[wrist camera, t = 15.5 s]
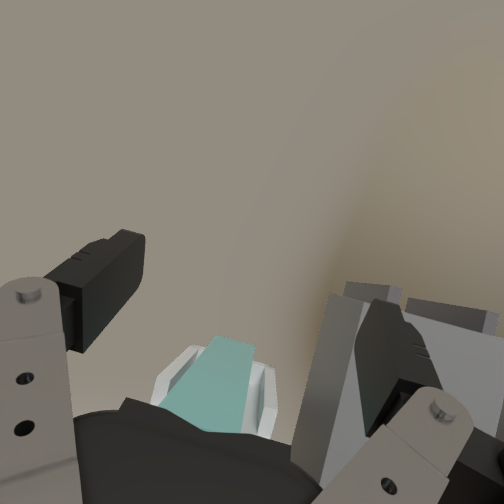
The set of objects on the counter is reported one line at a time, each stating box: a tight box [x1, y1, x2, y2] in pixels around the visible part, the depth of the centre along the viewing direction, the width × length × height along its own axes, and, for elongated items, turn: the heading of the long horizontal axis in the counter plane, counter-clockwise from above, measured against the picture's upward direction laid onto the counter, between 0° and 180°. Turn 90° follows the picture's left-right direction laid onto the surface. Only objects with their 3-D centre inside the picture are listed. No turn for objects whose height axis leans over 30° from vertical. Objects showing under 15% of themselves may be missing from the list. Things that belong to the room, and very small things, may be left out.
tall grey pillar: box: [290, 282, 504, 490], centre depth 29 cm, size 10×13×34 cm
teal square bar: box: [158, 335, 255, 433], centre depth 25 cm, size 4×20×4 cm, turn 178°
